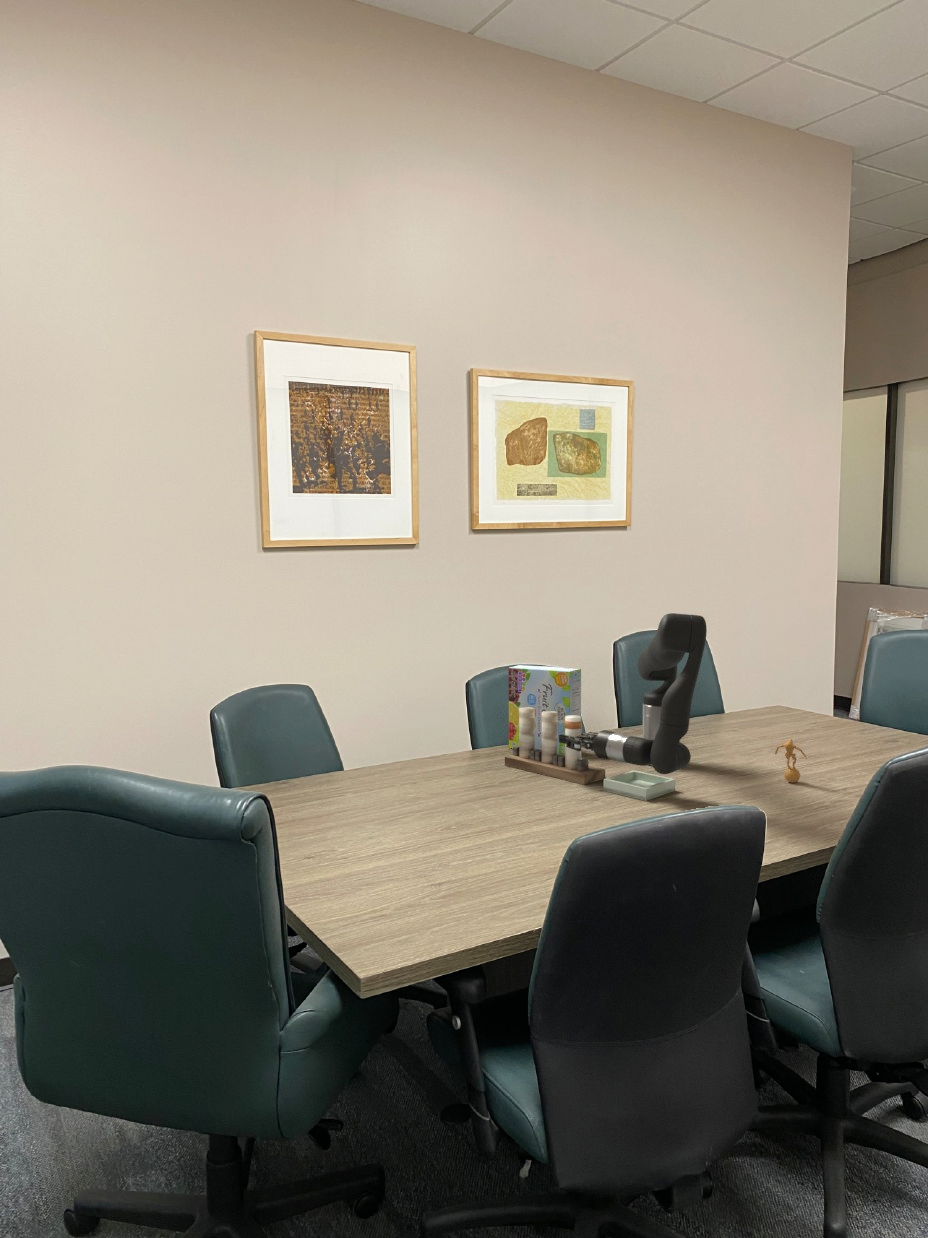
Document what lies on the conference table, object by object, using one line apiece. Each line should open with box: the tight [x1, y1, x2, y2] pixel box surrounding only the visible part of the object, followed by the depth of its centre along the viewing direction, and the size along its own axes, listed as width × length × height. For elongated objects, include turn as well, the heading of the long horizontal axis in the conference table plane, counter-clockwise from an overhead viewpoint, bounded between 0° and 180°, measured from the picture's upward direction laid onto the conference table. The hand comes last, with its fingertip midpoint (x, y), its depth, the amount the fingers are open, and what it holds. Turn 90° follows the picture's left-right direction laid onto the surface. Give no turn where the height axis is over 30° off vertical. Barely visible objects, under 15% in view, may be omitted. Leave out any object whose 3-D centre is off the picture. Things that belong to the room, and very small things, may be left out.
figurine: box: [774, 738, 808, 784], centre depth 230 cm, size 8×6×12 cm
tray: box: [602, 769, 676, 802], centre depth 225 cm, size 13×13×3 cm
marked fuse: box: [565, 715, 583, 769], centre depth 239 cm, size 5×5×14 cm
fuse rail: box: [504, 707, 606, 785], centre depth 244 cm, size 9×29×16 cm, turn 44°
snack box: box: [508, 664, 582, 755], centre depth 269 cm, size 22×9×26 cm, turn 58°
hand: (565, 737), depth 240 cm, fingers closed on marked fuse, 4 cm apart
